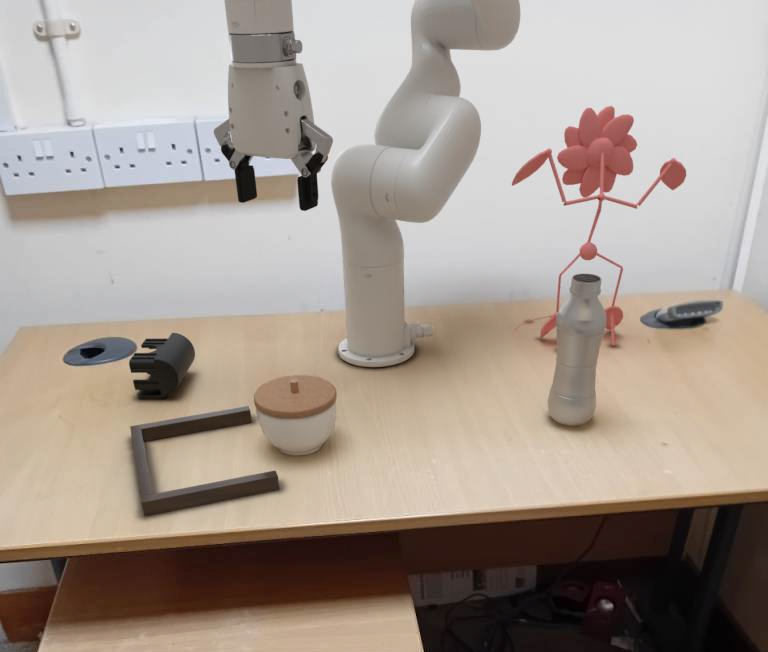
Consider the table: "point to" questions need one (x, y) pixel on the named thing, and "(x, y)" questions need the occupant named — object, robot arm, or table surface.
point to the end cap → (162, 365)
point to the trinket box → (296, 412)
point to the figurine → (598, 179)
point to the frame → (201, 492)
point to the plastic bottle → (577, 352)
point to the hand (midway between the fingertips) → (278, 204)
